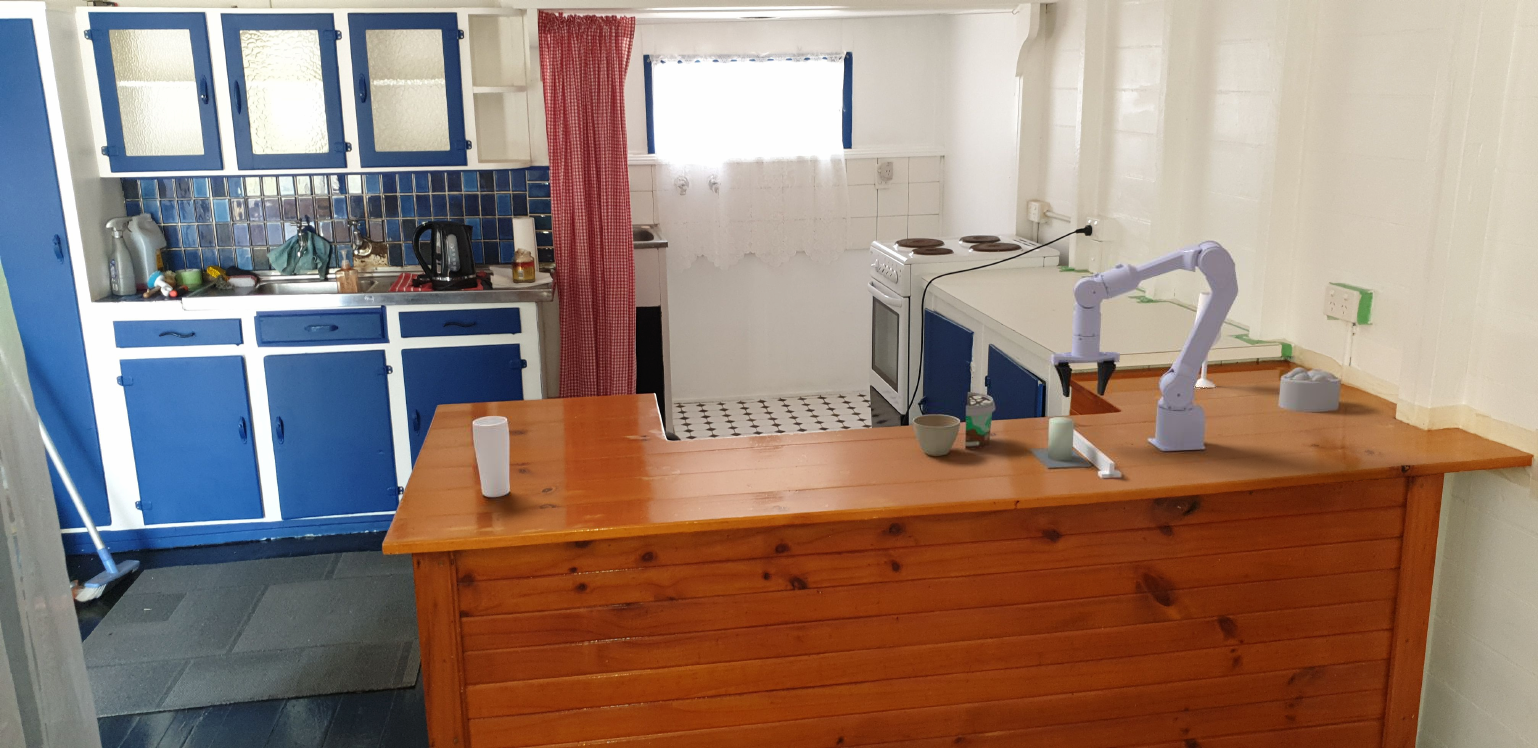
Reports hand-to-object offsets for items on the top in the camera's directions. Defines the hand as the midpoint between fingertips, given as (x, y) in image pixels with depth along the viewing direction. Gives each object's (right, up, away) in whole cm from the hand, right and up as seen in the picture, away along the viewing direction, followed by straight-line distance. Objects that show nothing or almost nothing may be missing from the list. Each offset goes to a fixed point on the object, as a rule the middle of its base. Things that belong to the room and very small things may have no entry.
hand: (1083, 395), depth 243 cm
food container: (-22, -11, +3) cm, 25 cm away
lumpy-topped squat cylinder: (+60, -3, +26) cm, 66 cm away
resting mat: (-7, -13, -9) cm, 17 cm away
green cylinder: (-7, -13, -9) cm, 17 cm away
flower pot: (-32, -12, -3) cm, 35 cm away
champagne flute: (+44, +1, +46) cm, 63 cm away
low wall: (-1, -13, -8) cm, 15 cm away
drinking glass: (-122, -19, -22) cm, 125 cm away
